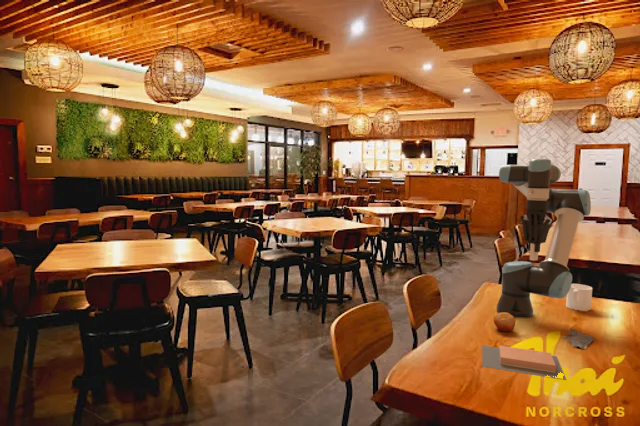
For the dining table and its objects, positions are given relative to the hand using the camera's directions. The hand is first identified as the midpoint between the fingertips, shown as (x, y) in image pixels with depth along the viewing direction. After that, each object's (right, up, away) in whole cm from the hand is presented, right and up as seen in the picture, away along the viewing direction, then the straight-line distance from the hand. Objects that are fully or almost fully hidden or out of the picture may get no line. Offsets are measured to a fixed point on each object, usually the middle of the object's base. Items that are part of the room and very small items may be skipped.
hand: (533, 259), depth 166 cm
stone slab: (+15, -31, -3) cm, 35 cm away
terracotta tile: (-22, -30, -21) cm, 43 cm away
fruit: (-9, -29, +6) cm, 31 cm away
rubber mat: (-16, -32, -23) cm, 43 cm away
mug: (+38, -27, +35) cm, 58 cm away
